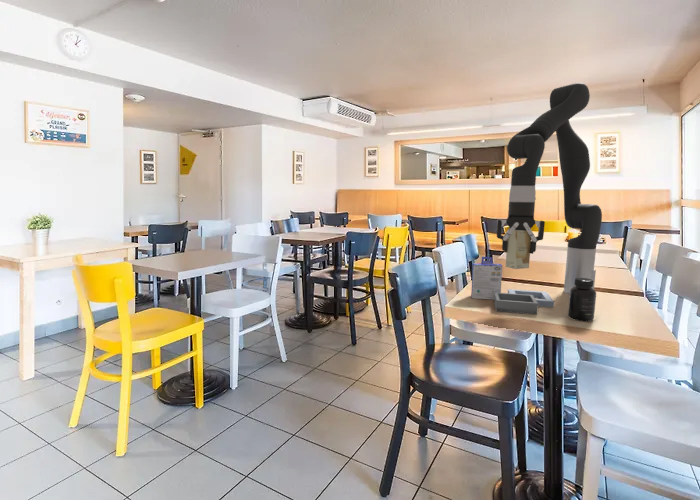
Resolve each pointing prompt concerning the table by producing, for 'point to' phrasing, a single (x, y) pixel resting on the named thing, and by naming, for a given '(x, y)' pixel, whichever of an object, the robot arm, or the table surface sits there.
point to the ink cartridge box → (486, 279)
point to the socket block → (536, 296)
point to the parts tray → (515, 303)
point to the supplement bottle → (582, 300)
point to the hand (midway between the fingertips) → (518, 252)
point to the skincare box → (518, 250)
